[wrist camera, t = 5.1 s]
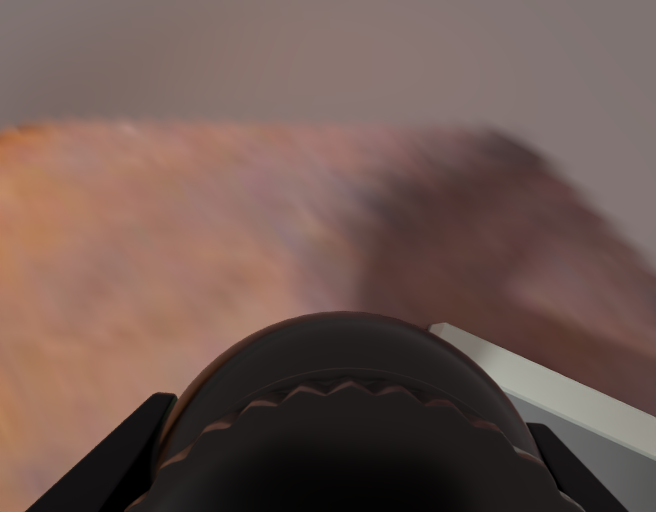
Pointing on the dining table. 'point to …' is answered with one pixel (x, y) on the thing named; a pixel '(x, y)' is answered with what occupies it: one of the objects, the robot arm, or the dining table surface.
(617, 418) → the tray
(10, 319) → the dining table surface
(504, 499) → the supplement bottle
